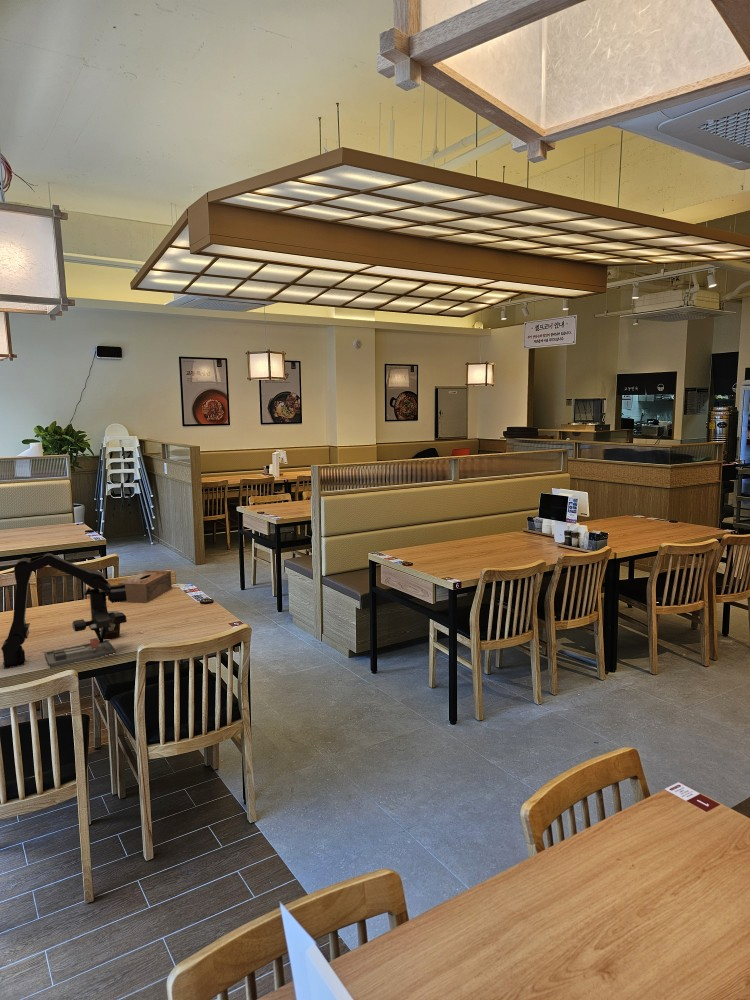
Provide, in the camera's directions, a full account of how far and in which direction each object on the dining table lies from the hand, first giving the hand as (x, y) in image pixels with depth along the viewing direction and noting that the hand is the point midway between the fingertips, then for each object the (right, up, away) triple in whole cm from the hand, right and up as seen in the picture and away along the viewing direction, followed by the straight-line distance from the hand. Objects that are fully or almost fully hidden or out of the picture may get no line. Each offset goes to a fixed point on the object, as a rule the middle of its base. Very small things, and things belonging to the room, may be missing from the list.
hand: (101, 642), depth 244 cm
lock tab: (-2, -1, -1) cm, 3 cm away
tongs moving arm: (-10, -4, -5) cm, 12 cm away
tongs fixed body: (-6, -4, -4) cm, 8 cm away
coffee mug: (-5, -2, +17) cm, 18 cm away
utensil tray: (-7, -4, -3) cm, 8 cm away
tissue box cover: (-11, +6, +78) cm, 79 cm away
